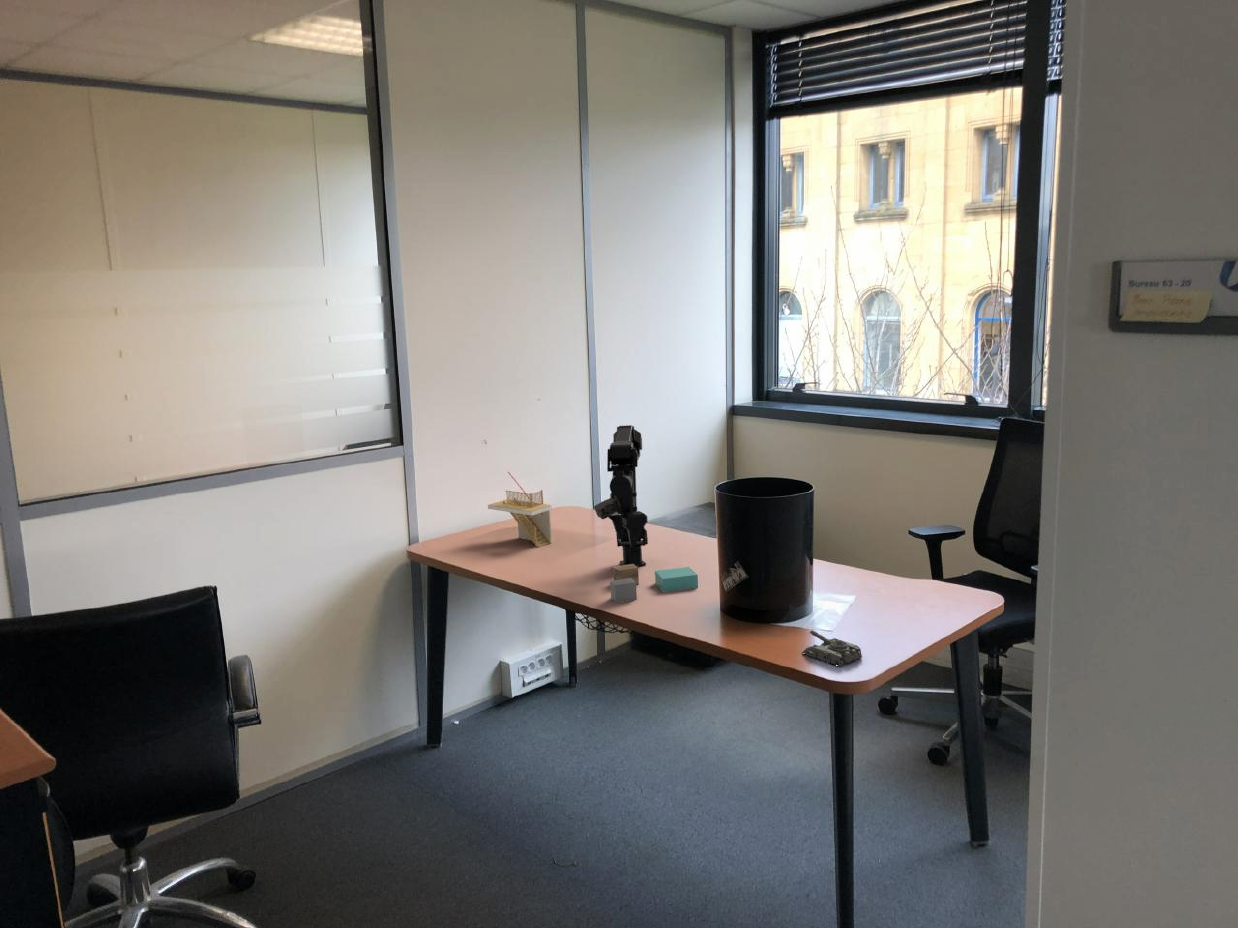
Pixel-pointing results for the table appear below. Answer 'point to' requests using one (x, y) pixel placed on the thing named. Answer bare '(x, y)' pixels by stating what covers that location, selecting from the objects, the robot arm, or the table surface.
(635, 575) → the walnut brick
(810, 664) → the table surface
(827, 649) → the tank toy
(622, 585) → the charcoal brick
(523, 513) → the architectural model
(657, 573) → the teal brick
